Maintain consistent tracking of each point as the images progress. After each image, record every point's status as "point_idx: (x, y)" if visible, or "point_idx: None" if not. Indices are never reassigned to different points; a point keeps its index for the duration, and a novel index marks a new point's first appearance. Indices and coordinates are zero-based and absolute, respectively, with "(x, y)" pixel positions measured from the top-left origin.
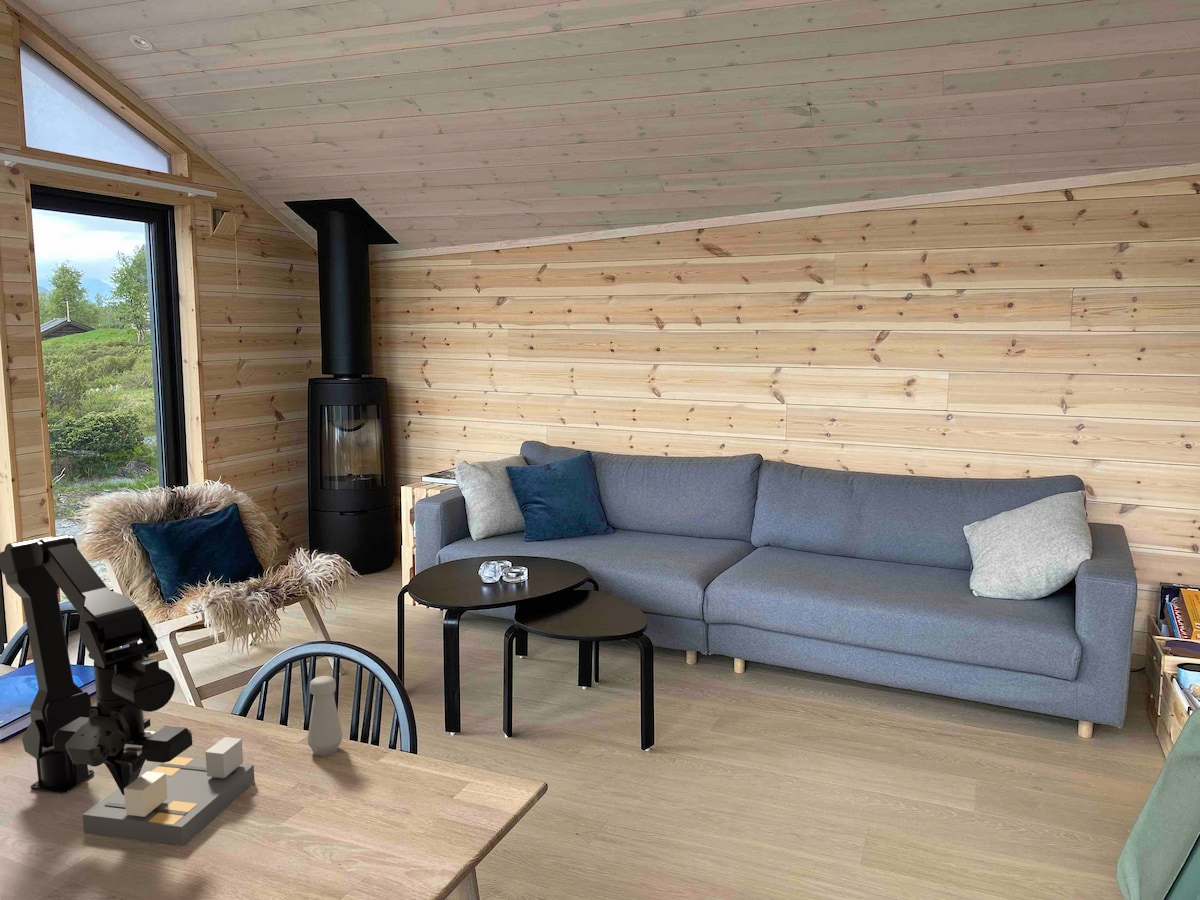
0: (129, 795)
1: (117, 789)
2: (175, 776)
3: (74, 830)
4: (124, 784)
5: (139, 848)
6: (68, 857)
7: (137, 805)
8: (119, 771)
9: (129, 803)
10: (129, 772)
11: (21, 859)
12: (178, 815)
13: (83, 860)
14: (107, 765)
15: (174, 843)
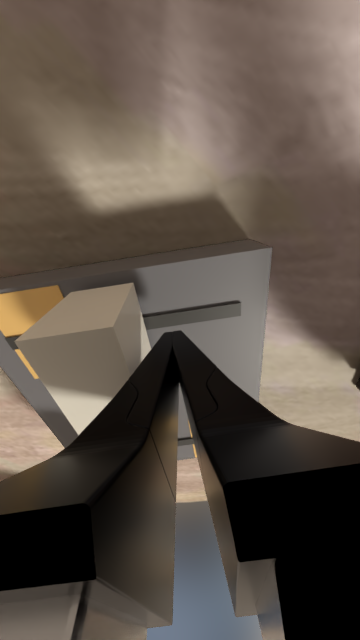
0: (95, 314)
1: (261, 360)
2: (179, 421)
3: (281, 242)
4: (161, 353)
5: (74, 237)
6: (209, 125)
7: (77, 302)
8: (186, 397)
9: (107, 299)
10: (105, 406)
11: (345, 48)
12: (16, 332)
13: (156, 128)
14: (254, 412)
15: (12, 277)
